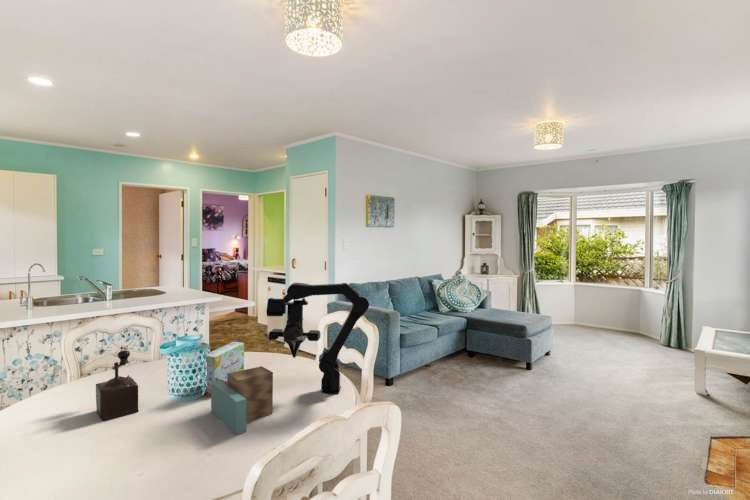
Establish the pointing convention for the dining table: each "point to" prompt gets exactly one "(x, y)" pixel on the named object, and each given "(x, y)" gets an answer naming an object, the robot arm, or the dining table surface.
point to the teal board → (228, 407)
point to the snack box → (224, 363)
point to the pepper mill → (117, 393)
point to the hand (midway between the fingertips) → (294, 357)
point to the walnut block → (254, 390)
